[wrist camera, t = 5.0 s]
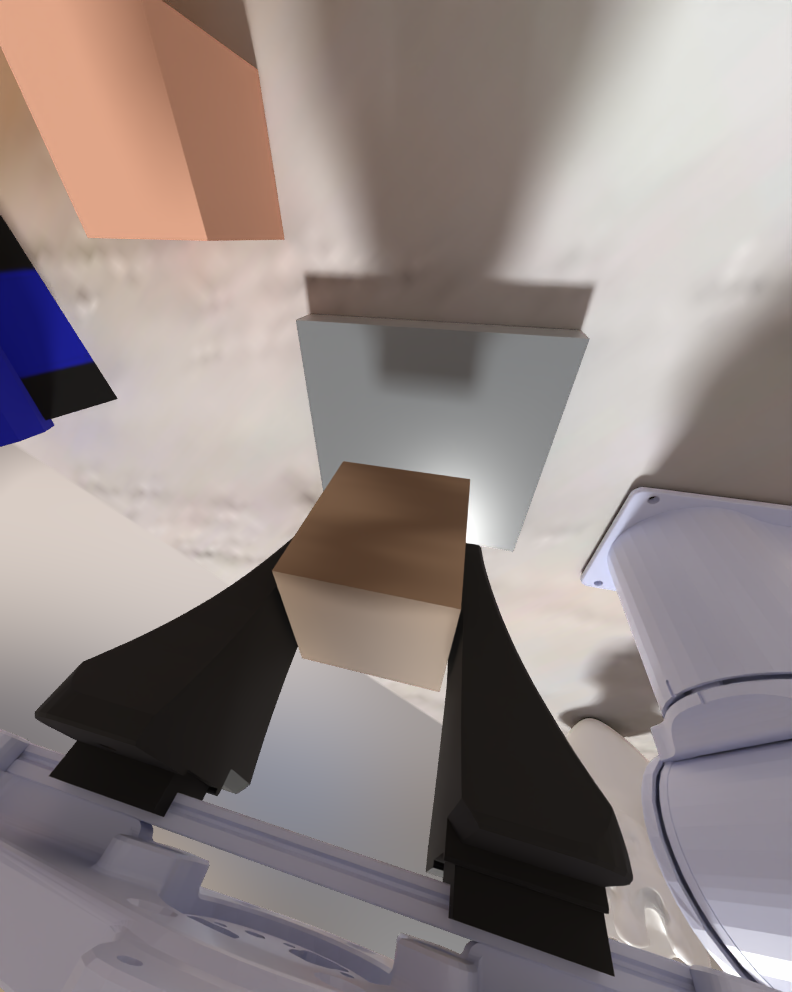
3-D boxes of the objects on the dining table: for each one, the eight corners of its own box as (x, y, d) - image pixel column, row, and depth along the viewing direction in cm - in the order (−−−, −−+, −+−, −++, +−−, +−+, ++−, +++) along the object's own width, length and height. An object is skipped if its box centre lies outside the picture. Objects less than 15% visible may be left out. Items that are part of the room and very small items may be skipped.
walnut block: (470, 479, 11) (460, 609, 7) (453, 565, 14) (439, 691, 10) (343, 461, 12) (271, 570, 8) (351, 546, 14) (302, 658, 11)
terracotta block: (258, 70, 11) (136, -18, 7) (284, 239, 14) (208, 240, 10) (145, 78, 12) (-20, 1, 8) (192, 237, 15) (88, 237, 11)
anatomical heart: (556, 740, 39) (584, 948, 28) (529, 697, 34) (551, 931, 22) (652, 747, 35) (734, 997, 23) (639, 698, 30) (736, 990, 18)
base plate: (580, 330, 13) (589, 338, 12) (511, 534, 21) (513, 551, 20) (310, 313, 15) (296, 320, 14) (336, 506, 23) (327, 520, 22)
